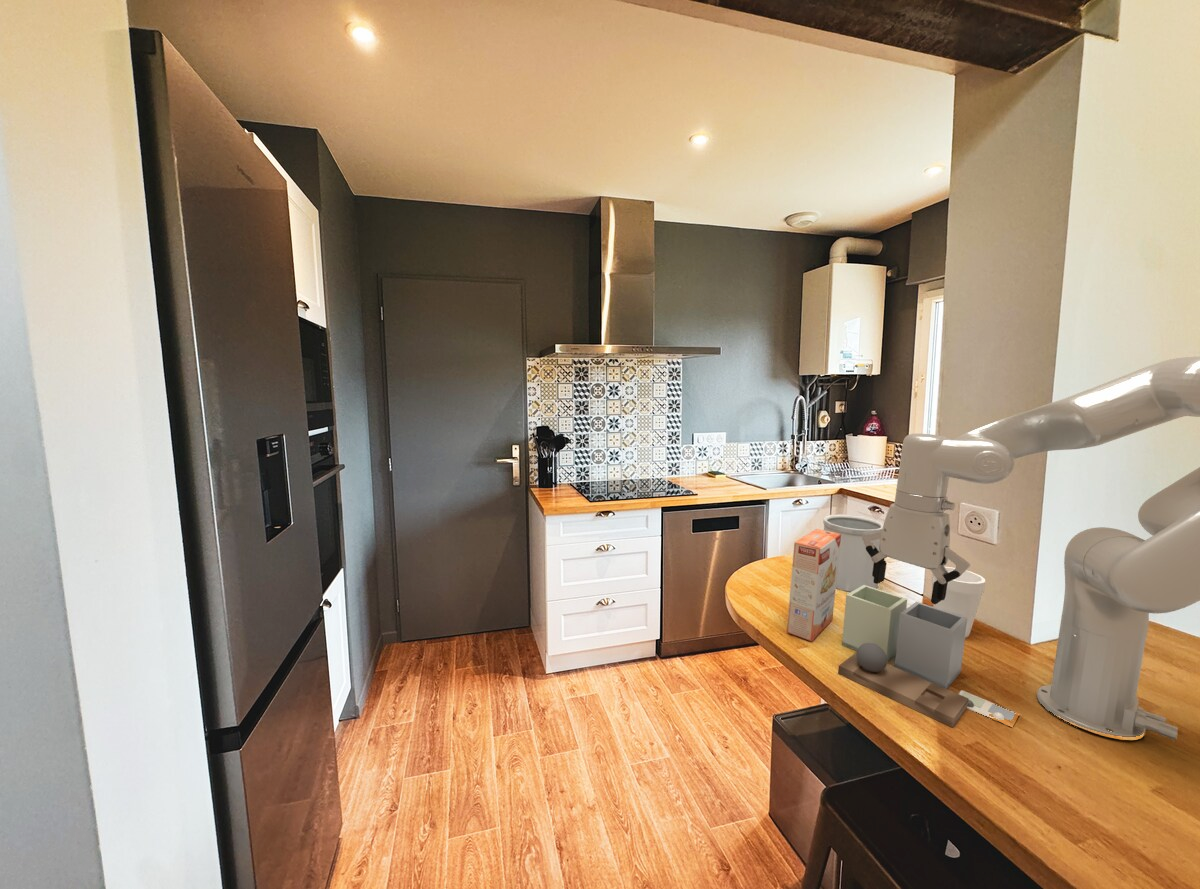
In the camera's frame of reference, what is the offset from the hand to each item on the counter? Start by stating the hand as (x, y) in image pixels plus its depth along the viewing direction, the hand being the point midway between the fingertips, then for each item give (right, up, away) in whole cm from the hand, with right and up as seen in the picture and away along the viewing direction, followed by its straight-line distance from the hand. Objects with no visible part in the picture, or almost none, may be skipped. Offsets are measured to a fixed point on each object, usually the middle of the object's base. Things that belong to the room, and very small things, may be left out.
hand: (906, 591), depth 89 cm
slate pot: (+6, -16, +3) cm, 17 cm away
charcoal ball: (-7, -12, 0) cm, 14 cm away
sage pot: (-1, -15, +10) cm, 18 cm away
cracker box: (-10, -14, +18) cm, 25 cm away
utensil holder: (+12, -11, +43) cm, 46 cm away
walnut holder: (-3, -16, -4) cm, 17 cm away
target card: (+8, -17, -8) cm, 21 cm away
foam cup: (+22, -14, +18) cm, 32 cm away
